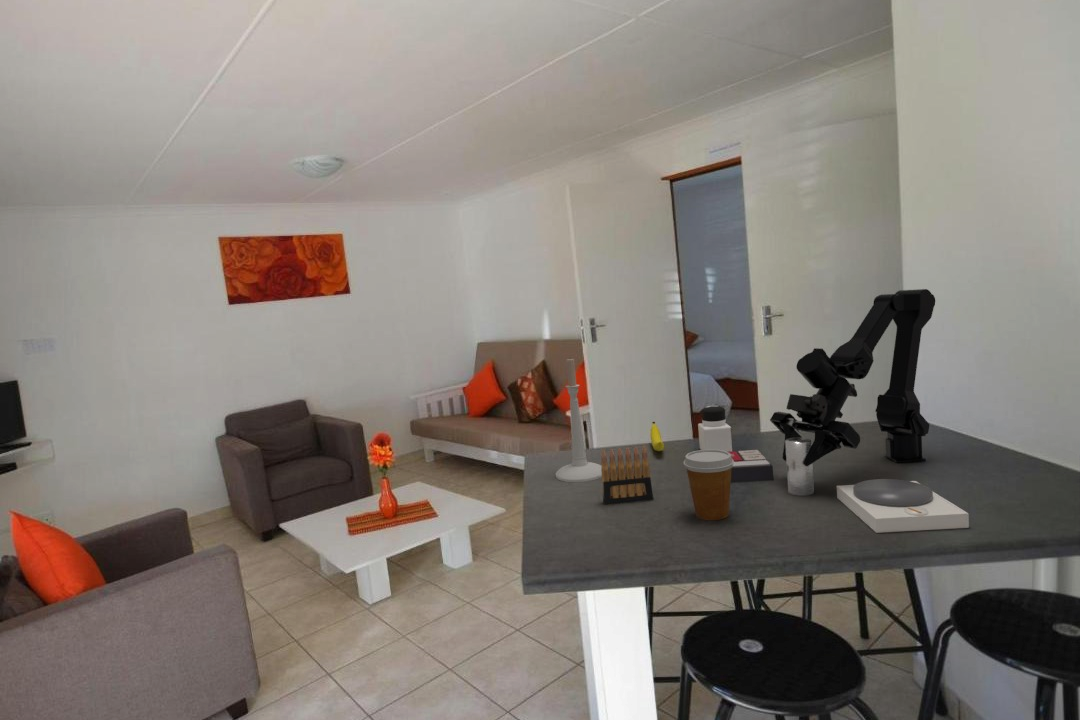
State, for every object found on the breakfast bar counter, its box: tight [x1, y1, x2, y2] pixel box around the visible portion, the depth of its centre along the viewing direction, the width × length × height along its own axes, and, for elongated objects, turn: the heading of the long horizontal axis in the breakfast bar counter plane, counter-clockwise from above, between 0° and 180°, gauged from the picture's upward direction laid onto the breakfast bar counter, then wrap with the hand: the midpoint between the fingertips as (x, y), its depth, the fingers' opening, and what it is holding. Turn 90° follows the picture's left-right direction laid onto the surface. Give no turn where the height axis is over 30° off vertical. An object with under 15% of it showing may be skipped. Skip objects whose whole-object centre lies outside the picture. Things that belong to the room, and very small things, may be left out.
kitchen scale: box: [836, 478, 970, 534], centre depth 115 cm, size 15×18×4 cm
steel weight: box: [784, 437, 815, 497], centre depth 130 cm, size 5×5×11 cm
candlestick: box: [555, 358, 602, 483], centre depth 157 cm, size 13×13×30 cm
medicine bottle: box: [697, 405, 734, 452], centre depth 167 cm, size 7×7×12 cm
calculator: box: [728, 449, 774, 483], centre depth 148 cm, size 11×4×15 cm
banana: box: [650, 421, 665, 452], centre depth 173 cm, size 3×19×6 cm, turn 175°
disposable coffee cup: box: [683, 449, 734, 521], centre depth 122 cm, size 10×10×12 cm
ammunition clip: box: [600, 444, 654, 506], centre depth 135 cm, size 11×2×12 cm, turn 91°
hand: (794, 462), depth 130 cm, fingers closed on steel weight, 5 cm apart
